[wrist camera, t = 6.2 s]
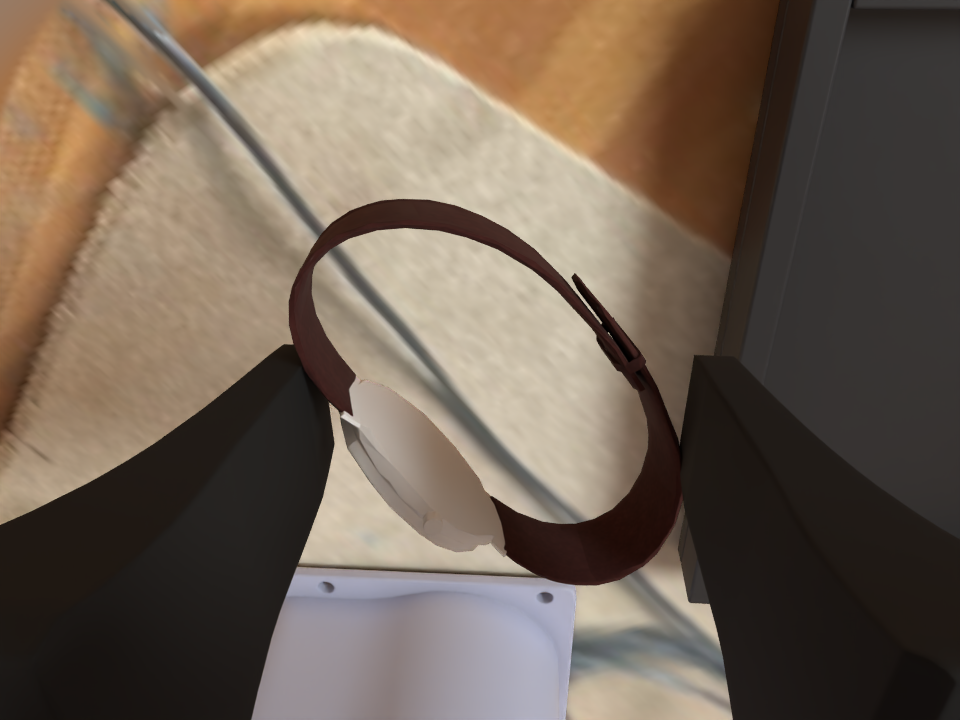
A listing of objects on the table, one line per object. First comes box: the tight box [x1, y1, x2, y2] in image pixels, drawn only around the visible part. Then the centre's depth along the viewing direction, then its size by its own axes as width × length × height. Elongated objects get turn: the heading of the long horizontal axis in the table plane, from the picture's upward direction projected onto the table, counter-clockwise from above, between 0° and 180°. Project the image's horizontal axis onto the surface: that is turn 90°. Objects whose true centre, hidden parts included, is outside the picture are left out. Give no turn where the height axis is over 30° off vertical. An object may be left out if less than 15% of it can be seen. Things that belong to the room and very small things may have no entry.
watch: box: [289, 199, 683, 585], centre depth 13 cm, size 8×5×4 cm, turn 42°
